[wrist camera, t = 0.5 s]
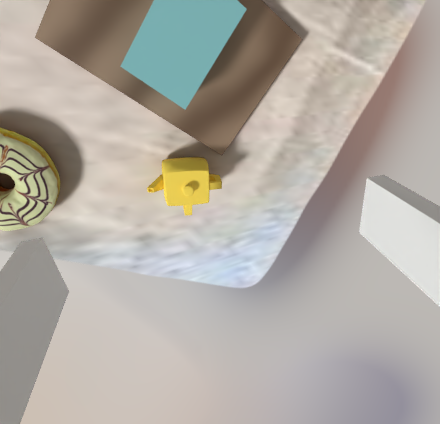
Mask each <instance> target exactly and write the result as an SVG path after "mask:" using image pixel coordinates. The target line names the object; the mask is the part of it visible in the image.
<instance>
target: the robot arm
mask: <svg viewBox="0 0 440 424" xmlns="http://www.w3.org/2000/svg"><path fill="white" fill-rule="evenodd" d="M359 233H360V234H361V235H362V236H364V237H365V238H366V239H367V240H368V241H369V242H370V243H371V244H372V245H373V246H374V247H375V248H377V249H378V250H379V251H380V252H381V253H382V254H383V255H384V256H385V257H386V258H388V259H389V260H390V261H391V262H392V263H393V264H394V265H395V266H396V267H397V268H398V269H399V270H400V271H401V272H403V273H404V274H405V275H406V276H407V277H408V278H409V279H410V280H411V281H412V282H413V283H414V284H416V285H417V286H418V287H419V288H420V289H421V290H422V291H423V292H424V293H425V294H426V295H427V296H429V297H430V298H431V299H432V300H433V301H434V302H435V303H436V304H437V305H438V306H439V307H440V206H438V205H436V204H434V203H433V202H431V201H429V200H427V199H425V198H424V197H422V196H420V195H418V194H417V193H415V192H413V191H411V190H410V189H408V188H406V187H404V186H402V185H401V184H399V183H397V182H396V181H394V180H392V179H390V178H388V177H387V176H385V175H380V176H375V177H370V178H367V181H366V188H365V195H364V202H363V210H362V217H361V224H360V230H359ZM68 293H69V290H68V288H67V286H66V284H65V282H64V280H63V278H62V276H61V274H60V272H59V270H58V268H57V266H56V264H55V262H54V260H53V258H52V256H51V254H50V252H49V250H48V248H47V246H46V244H45V241H44V239H43V238H39V239H33V240H28V241H22V242H21V243H20V244H19V246H18V247H17V249H16V250H15V251H14V253H13V254H12V256H11V257H10V258H9V260H8V261H7V263H6V264H5V265H4V267H3V269H2V270H1V271H0V424H20V422H21V419H22V417H23V414H24V411H25V408H26V406H27V403H28V401H29V398H30V395H31V392H32V390H33V387H34V384H35V382H36V379H37V376H38V374H39V371H40V368H41V365H42V363H43V360H44V357H45V355H46V352H47V349H48V347H49V344H50V341H51V339H52V336H53V333H54V330H55V328H56V325H57V322H58V319H59V317H60V314H61V311H62V309H63V306H64V303H65V301H66V298H67V295H68Z"/></svg>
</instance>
